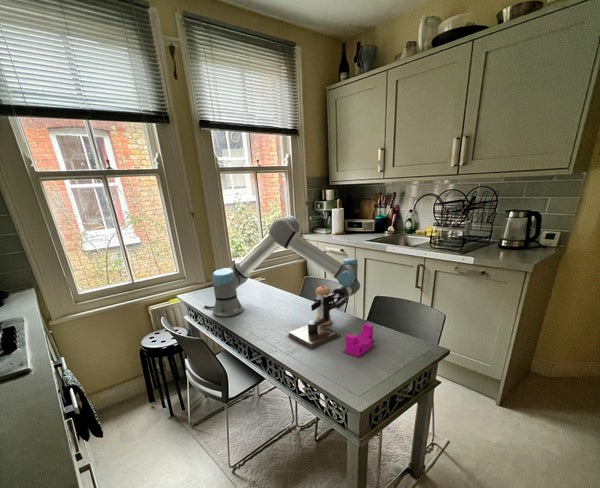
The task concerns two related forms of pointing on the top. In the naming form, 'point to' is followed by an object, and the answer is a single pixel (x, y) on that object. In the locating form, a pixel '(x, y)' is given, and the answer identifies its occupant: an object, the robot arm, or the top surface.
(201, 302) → the top surface
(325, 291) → the pepper shaker
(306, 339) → the pivot base
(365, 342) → the toy block
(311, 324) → the black stand
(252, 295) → the top surface
